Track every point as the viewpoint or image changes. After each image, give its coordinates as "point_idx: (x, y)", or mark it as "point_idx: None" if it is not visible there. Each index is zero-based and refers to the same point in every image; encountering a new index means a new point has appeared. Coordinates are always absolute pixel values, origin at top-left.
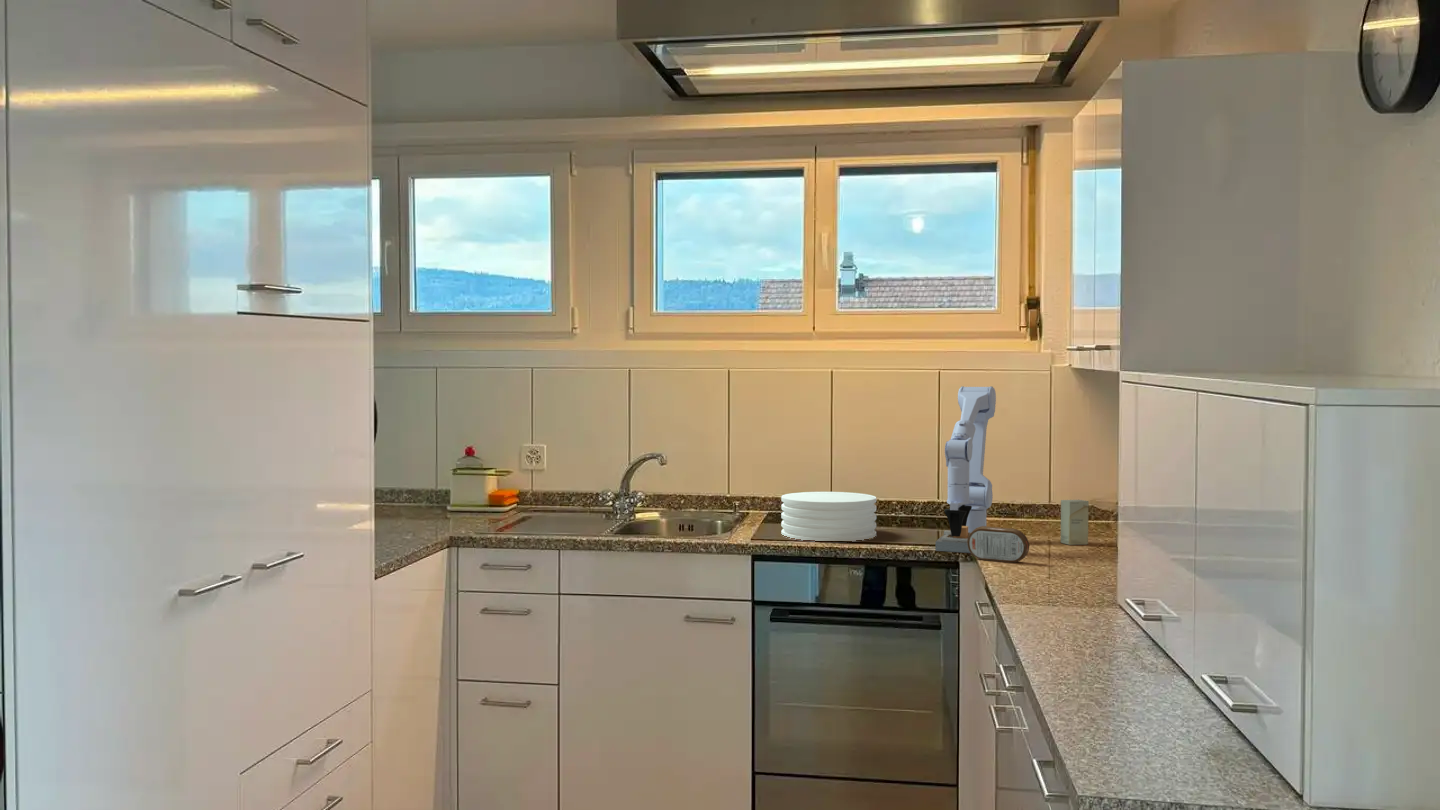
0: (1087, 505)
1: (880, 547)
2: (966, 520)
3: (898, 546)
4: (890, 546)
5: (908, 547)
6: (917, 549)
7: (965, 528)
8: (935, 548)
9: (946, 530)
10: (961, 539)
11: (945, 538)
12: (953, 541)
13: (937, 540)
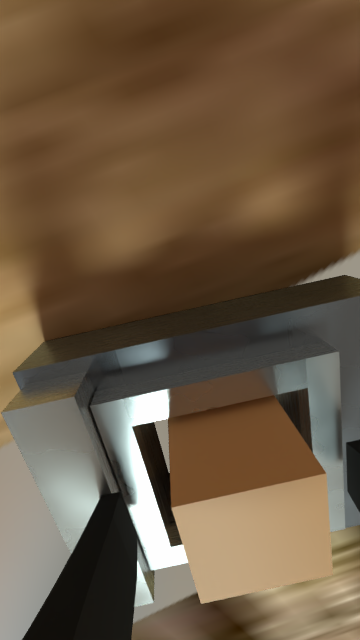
0: None
1: (356, 637)
2: (80, 623)
3: (299, 611)
4: (314, 627)
5: None
6: (343, 537)
7: (321, 476)
8: None
9: None
10: (338, 411)
11: (340, 504)
12: (344, 443)
13: (346, 524)
